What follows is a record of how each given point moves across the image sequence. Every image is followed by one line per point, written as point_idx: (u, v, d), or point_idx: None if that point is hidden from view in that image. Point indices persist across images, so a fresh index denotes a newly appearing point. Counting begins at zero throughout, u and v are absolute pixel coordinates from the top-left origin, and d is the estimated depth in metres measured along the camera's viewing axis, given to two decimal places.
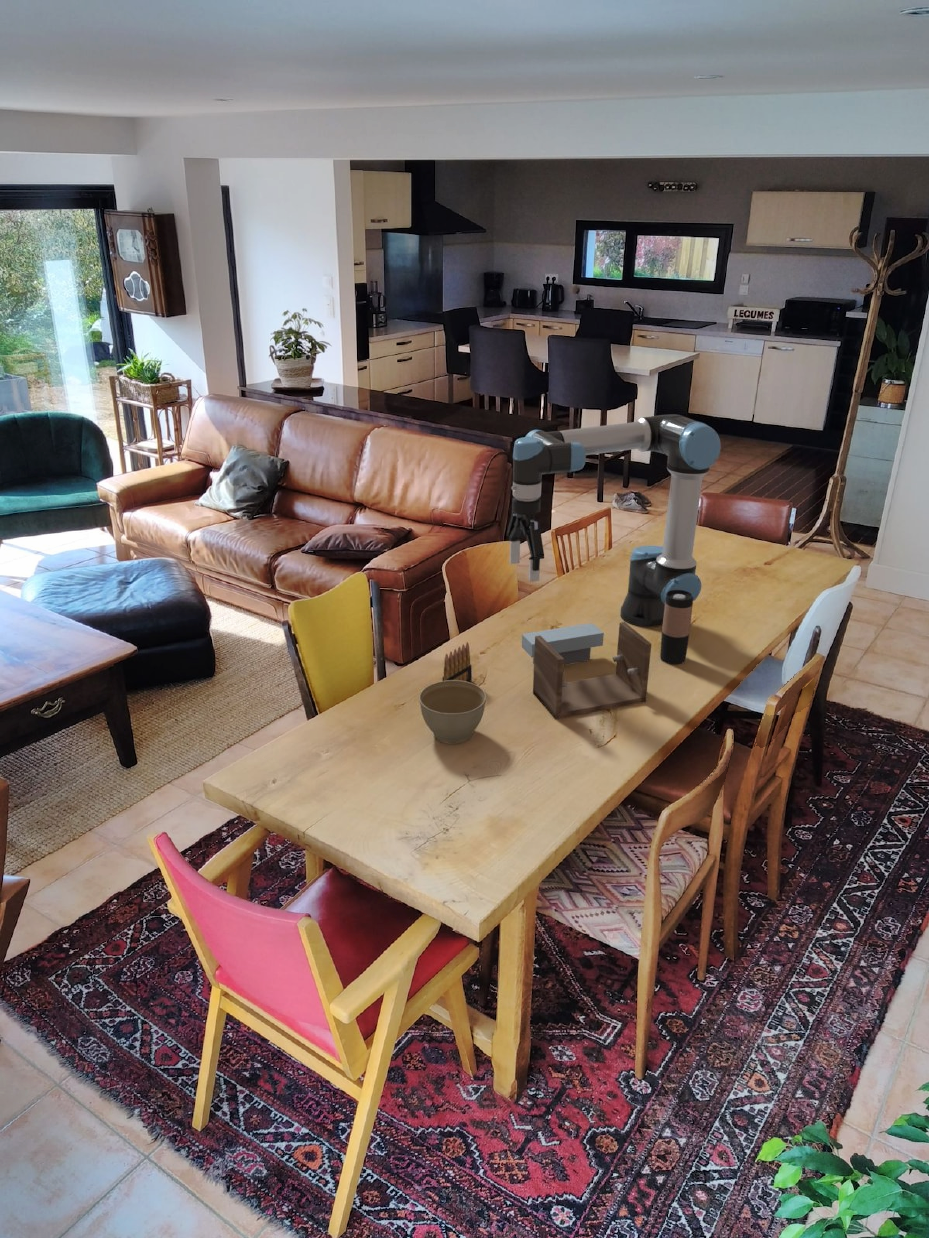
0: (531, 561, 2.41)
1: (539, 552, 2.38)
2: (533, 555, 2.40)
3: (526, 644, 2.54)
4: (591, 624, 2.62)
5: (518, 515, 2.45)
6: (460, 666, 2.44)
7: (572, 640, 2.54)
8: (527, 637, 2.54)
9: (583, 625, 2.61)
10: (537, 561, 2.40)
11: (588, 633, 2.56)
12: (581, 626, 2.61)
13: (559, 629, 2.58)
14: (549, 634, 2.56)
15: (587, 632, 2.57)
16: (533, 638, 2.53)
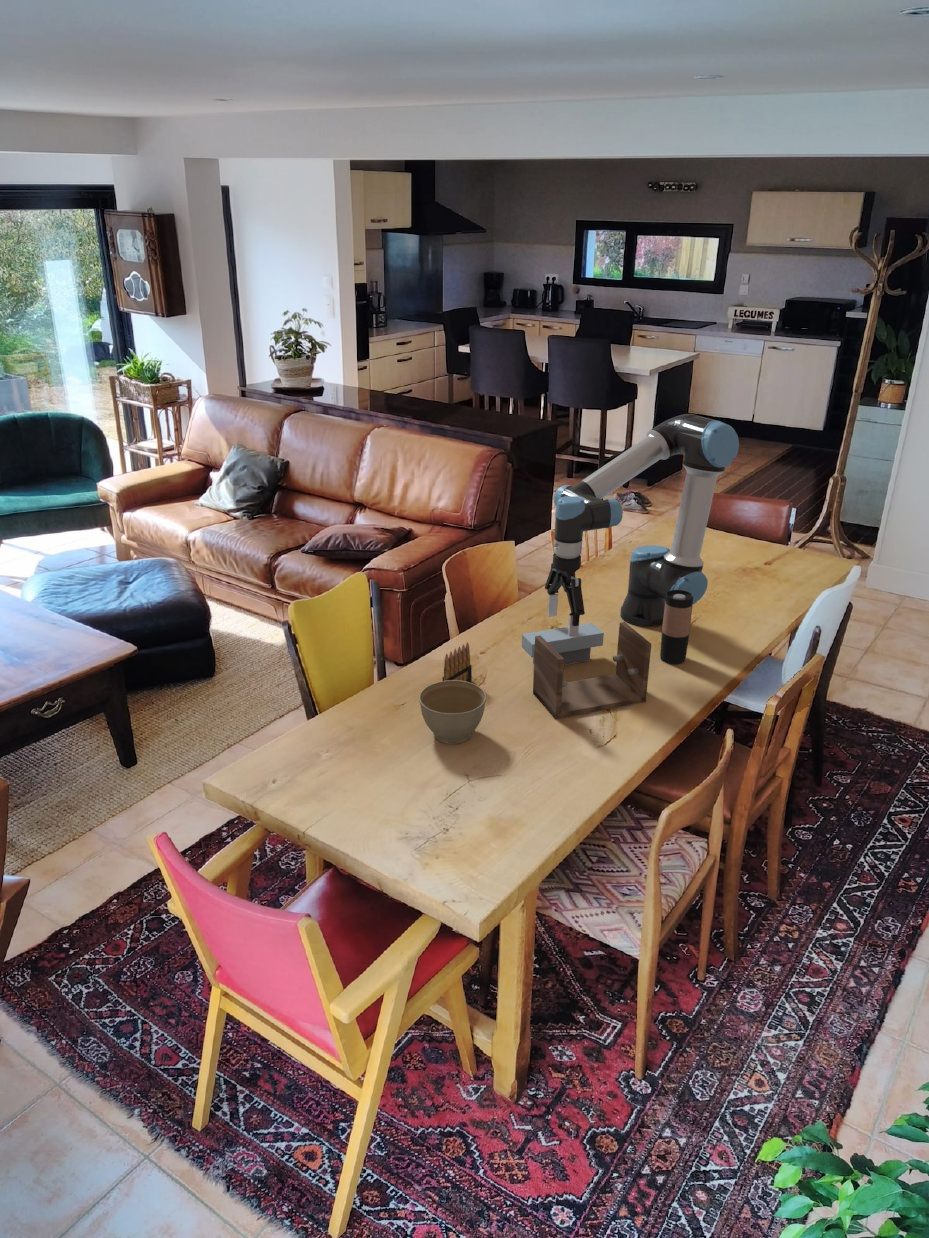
0: (571, 616, 2.46)
1: (580, 608, 2.43)
2: (573, 611, 2.45)
3: (526, 644, 2.54)
4: (591, 624, 2.62)
5: (558, 570, 2.50)
6: (460, 666, 2.44)
7: (572, 640, 2.54)
8: (527, 637, 2.54)
9: (583, 625, 2.61)
10: (577, 617, 2.46)
11: (588, 633, 2.56)
12: (581, 626, 2.61)
13: (559, 629, 2.58)
14: (549, 634, 2.56)
15: (587, 632, 2.57)
16: (533, 638, 2.53)
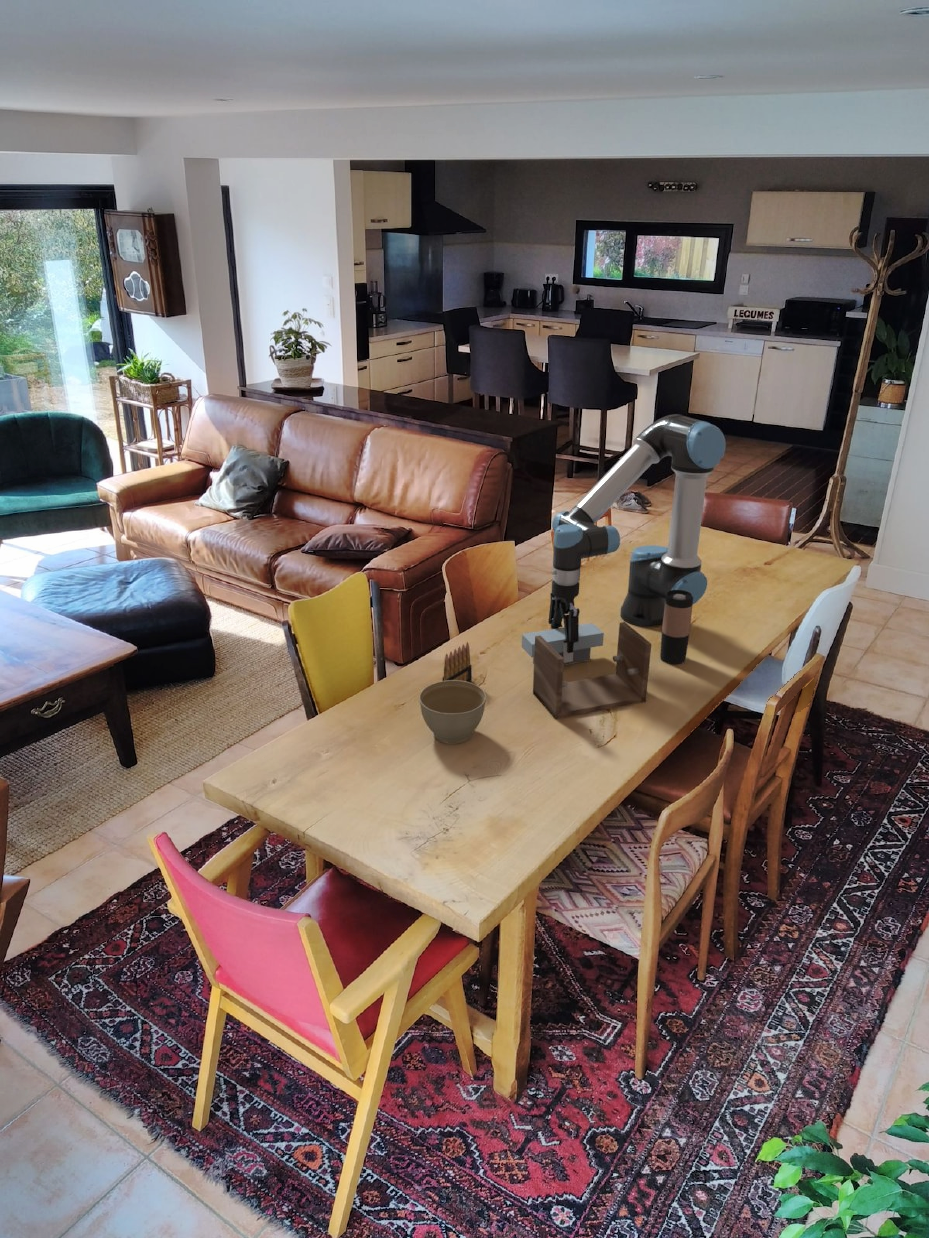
0: (565, 644, 2.53)
1: (574, 637, 2.50)
2: (568, 639, 2.51)
3: (526, 644, 2.54)
4: (591, 624, 2.62)
5: None
6: (460, 666, 2.44)
7: None
8: (527, 637, 2.54)
9: (583, 625, 2.61)
10: (571, 644, 2.52)
11: (588, 633, 2.56)
12: (581, 626, 2.61)
13: (559, 629, 2.58)
14: (550, 634, 2.56)
15: (587, 632, 2.57)
16: (533, 638, 2.53)
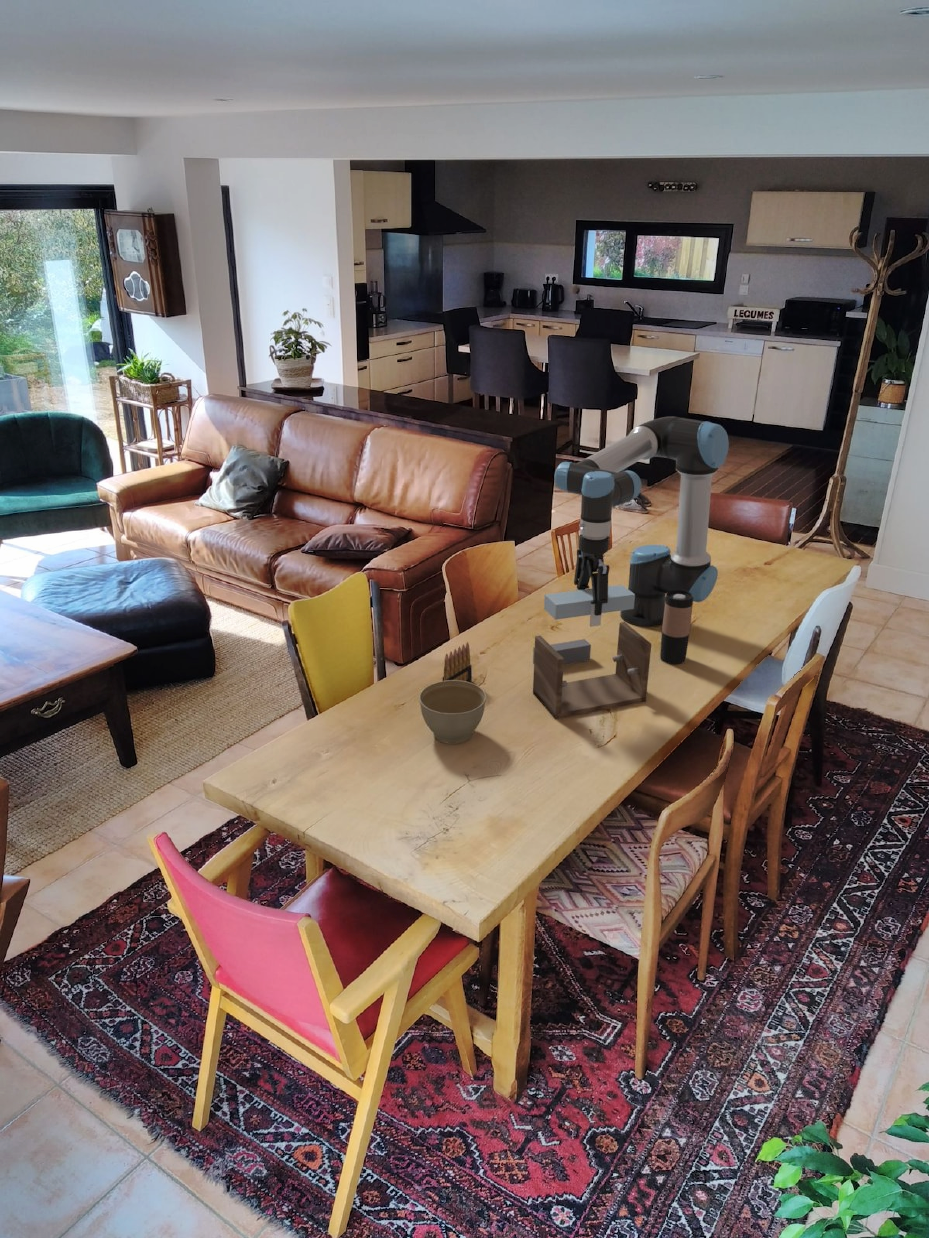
0: (593, 605, 2.29)
1: (603, 597, 2.25)
2: (596, 600, 2.27)
3: (549, 605, 2.30)
4: (621, 586, 2.37)
5: (584, 553, 2.30)
6: (460, 666, 2.44)
7: None
8: (550, 598, 2.30)
9: (612, 587, 2.37)
10: (599, 605, 2.28)
11: (618, 594, 2.32)
12: (610, 587, 2.36)
13: (585, 590, 2.34)
14: (575, 595, 2.31)
15: (617, 593, 2.33)
16: (557, 599, 2.29)
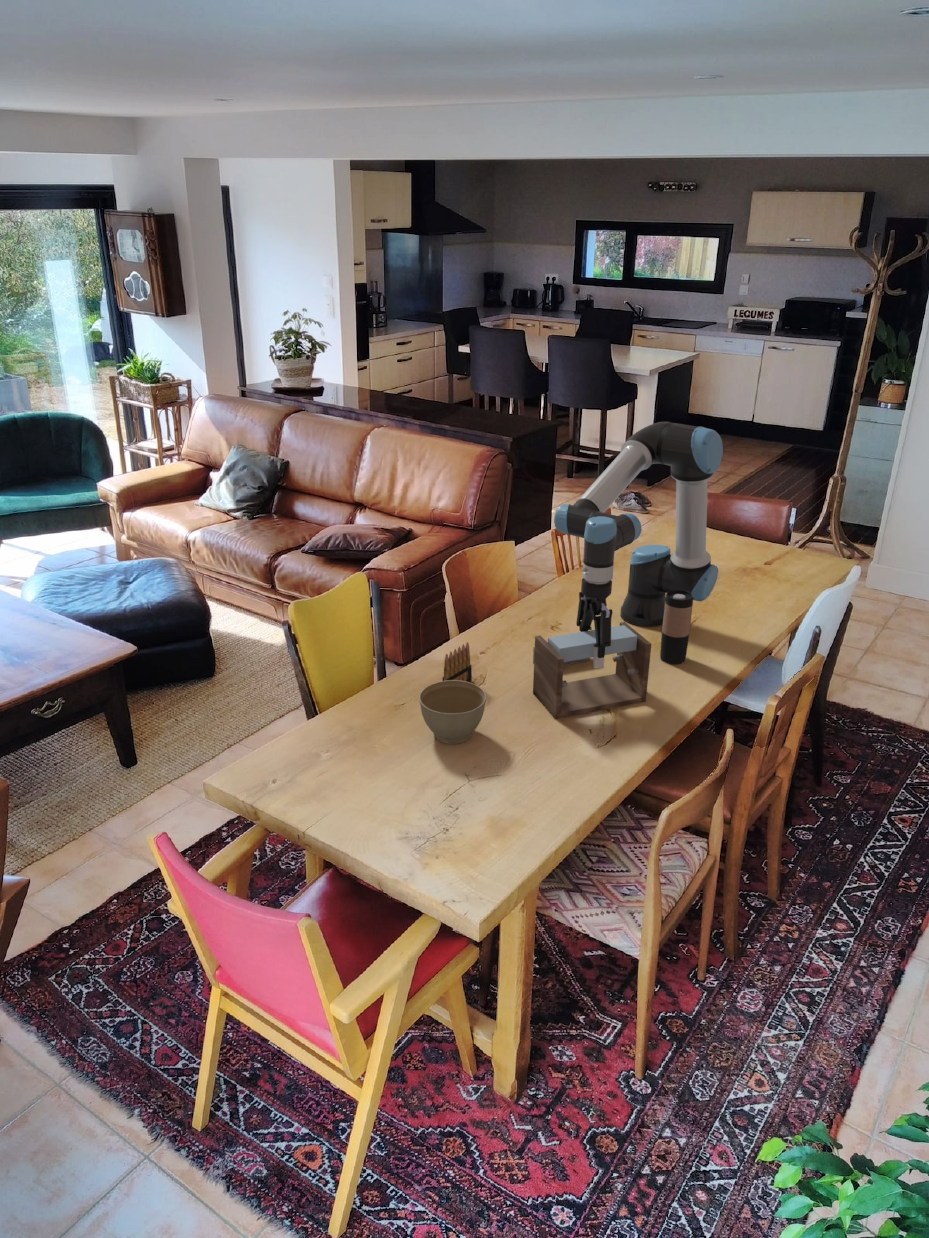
0: (596, 648, 2.31)
1: (606, 641, 2.27)
2: (599, 643, 2.29)
3: None
4: (623, 626, 2.39)
5: (587, 595, 2.31)
6: (460, 666, 2.44)
7: None
8: (553, 641, 2.31)
9: (614, 628, 2.39)
10: (603, 648, 2.30)
11: (620, 636, 2.34)
12: (612, 629, 2.38)
13: (588, 632, 2.36)
14: (578, 637, 2.33)
15: (619, 635, 2.35)
16: (560, 642, 2.31)
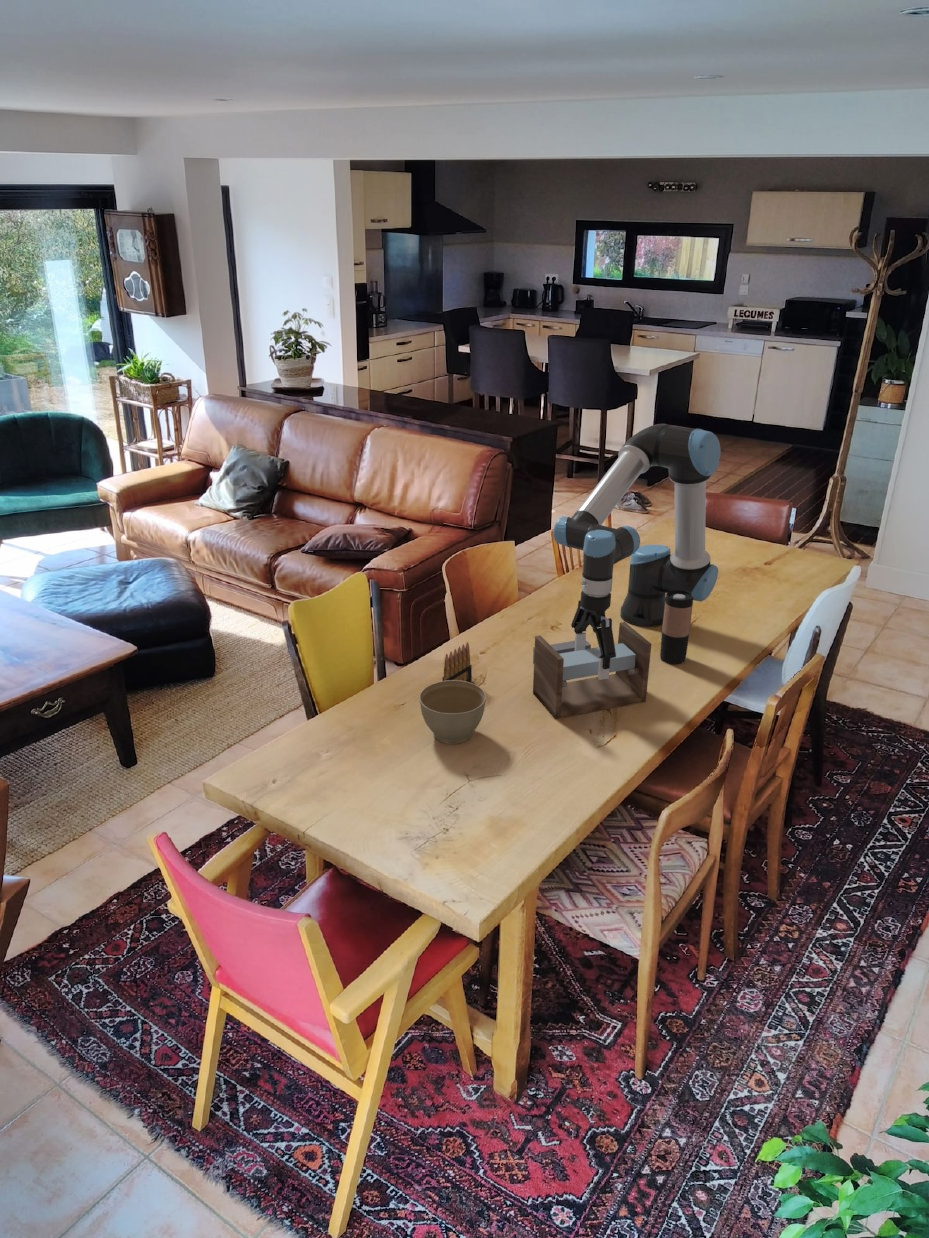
0: (601, 659, 2.29)
1: (611, 651, 2.26)
2: (604, 653, 2.27)
3: None
4: (621, 644, 2.42)
5: (586, 609, 2.33)
6: (460, 666, 2.44)
7: None
8: None
9: None
10: (608, 659, 2.28)
11: (619, 655, 2.36)
12: None
13: (587, 651, 2.38)
14: (577, 656, 2.36)
15: (618, 653, 2.37)
16: None
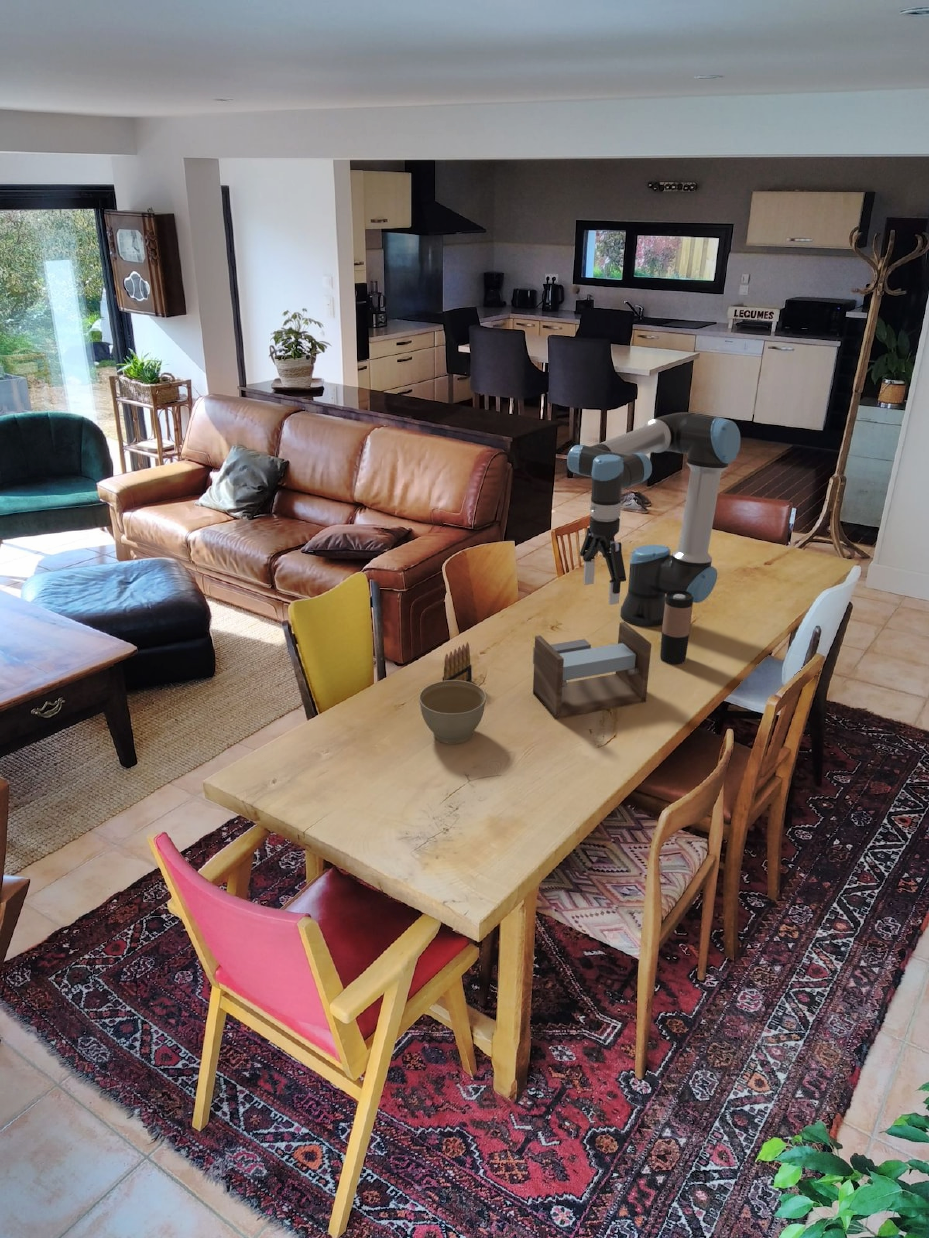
0: (611, 584, 2.31)
1: (621, 575, 2.28)
2: (614, 578, 2.29)
3: None
4: (621, 644, 2.42)
5: (595, 535, 2.35)
6: (460, 666, 2.44)
7: (602, 663, 2.34)
8: None
9: (612, 646, 2.41)
10: (618, 584, 2.30)
11: (619, 655, 2.36)
12: (611, 647, 2.41)
13: (587, 651, 2.38)
14: (577, 656, 2.36)
15: (618, 653, 2.37)
16: None
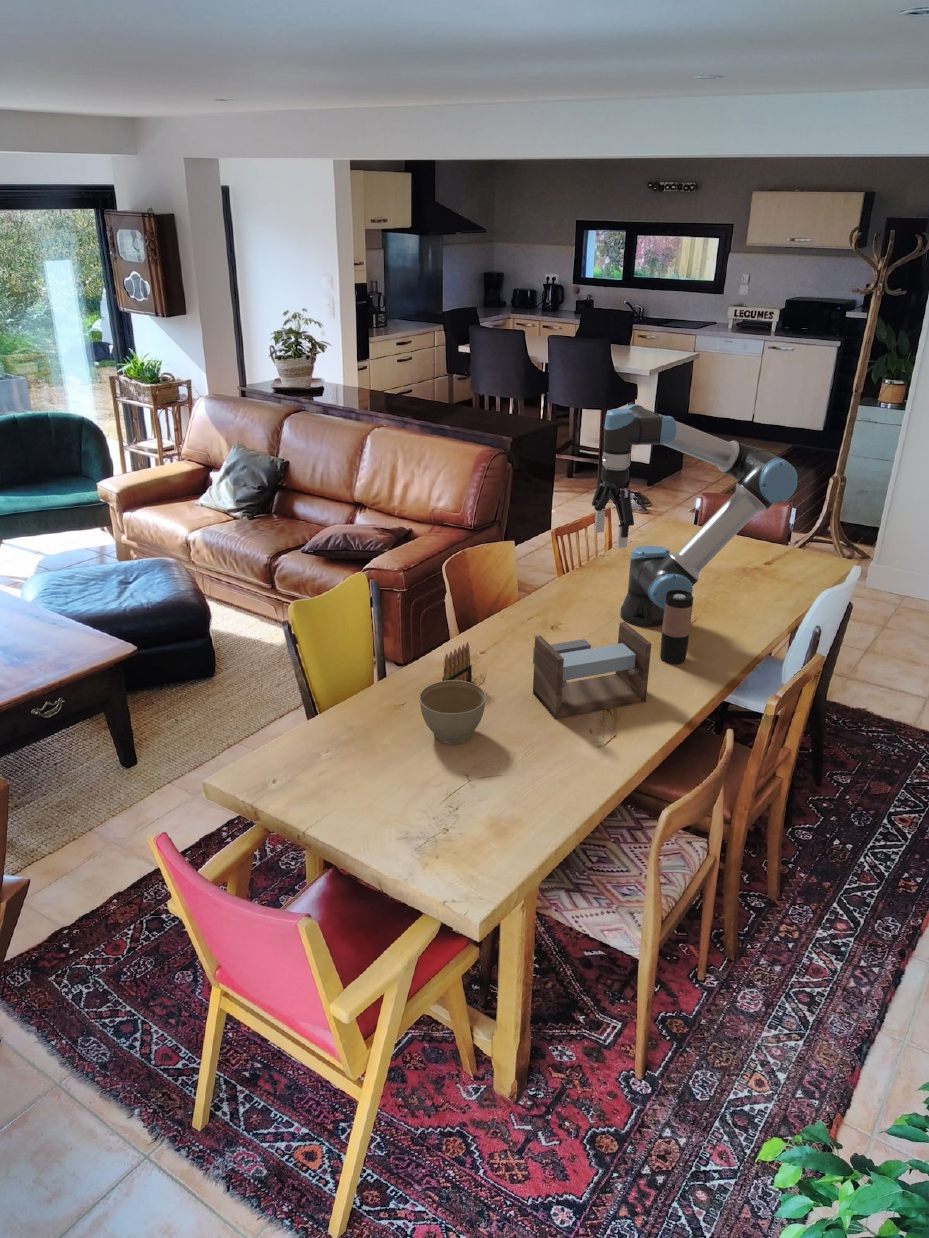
0: (620, 528, 2.51)
1: (629, 519, 2.48)
2: (623, 522, 2.50)
3: None
4: (621, 644, 2.42)
5: (606, 484, 2.55)
6: (460, 666, 2.44)
7: (602, 663, 2.34)
8: None
9: (612, 646, 2.41)
10: (626, 528, 2.51)
11: (619, 655, 2.36)
12: (611, 647, 2.41)
13: (587, 651, 2.38)
14: (577, 656, 2.36)
15: (618, 653, 2.37)
16: None
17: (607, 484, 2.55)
